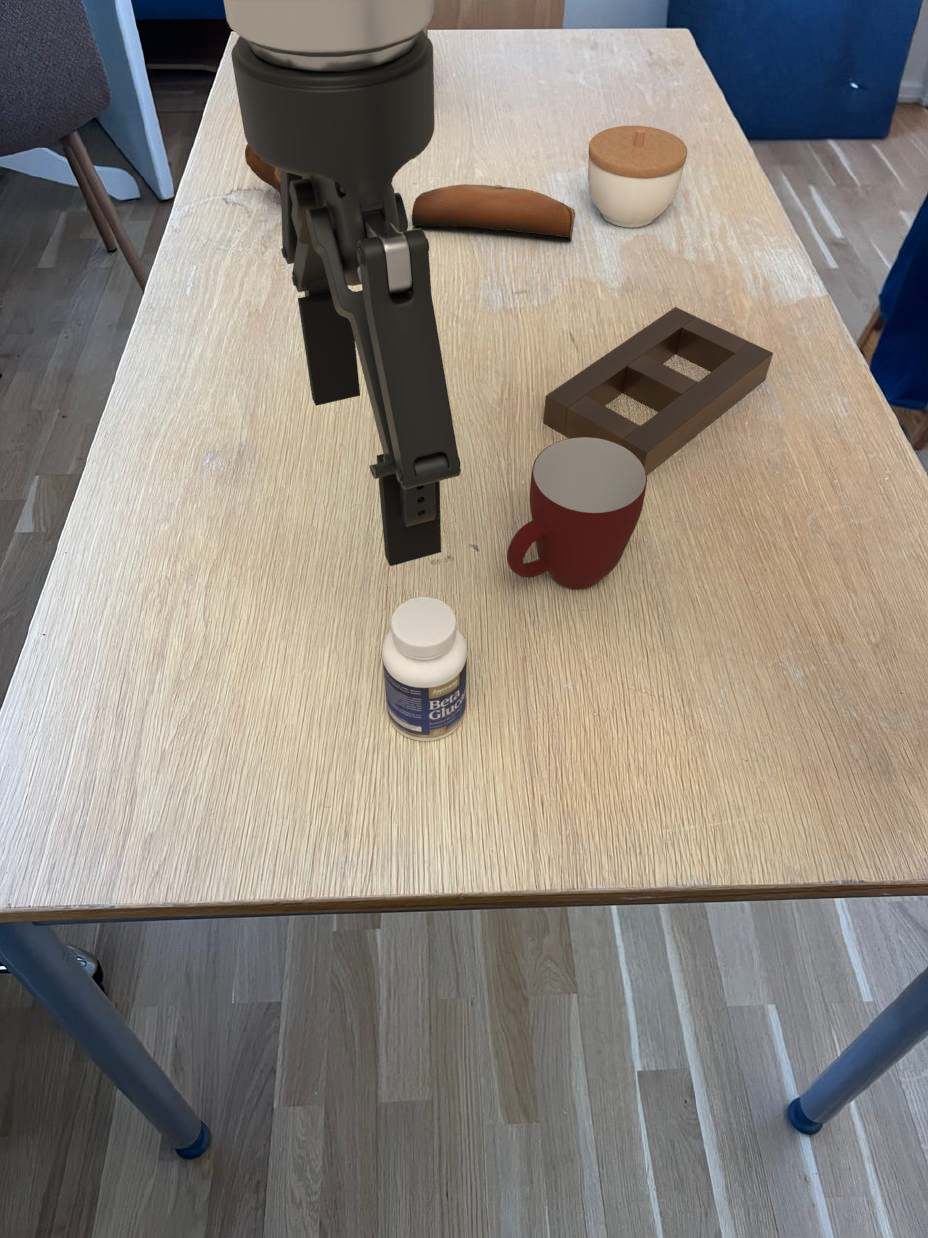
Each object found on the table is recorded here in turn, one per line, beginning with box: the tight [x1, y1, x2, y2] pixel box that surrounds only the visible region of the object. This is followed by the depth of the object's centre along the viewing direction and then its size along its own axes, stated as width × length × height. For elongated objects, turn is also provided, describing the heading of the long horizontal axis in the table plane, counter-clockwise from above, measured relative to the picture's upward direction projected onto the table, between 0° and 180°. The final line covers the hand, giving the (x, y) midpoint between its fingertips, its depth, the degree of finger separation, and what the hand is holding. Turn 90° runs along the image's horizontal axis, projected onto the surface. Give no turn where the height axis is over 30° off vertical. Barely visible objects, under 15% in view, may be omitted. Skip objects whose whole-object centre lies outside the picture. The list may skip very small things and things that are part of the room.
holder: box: [542, 306, 774, 476], centre depth 86 cm, size 11×20×3 cm, turn 136°
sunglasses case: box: [411, 183, 576, 242], centre depth 106 cm, size 18×7×7 cm, turn 81°
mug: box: [506, 437, 648, 590], centre depth 69 cm, size 10×8×10 cm
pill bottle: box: [381, 596, 468, 742], centre depth 61 cm, size 5×5×10 cm
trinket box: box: [587, 125, 688, 229], centre depth 105 cm, size 11×11×9 cm
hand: (371, 470), depth 51 cm, fingers open, 13 cm apart
